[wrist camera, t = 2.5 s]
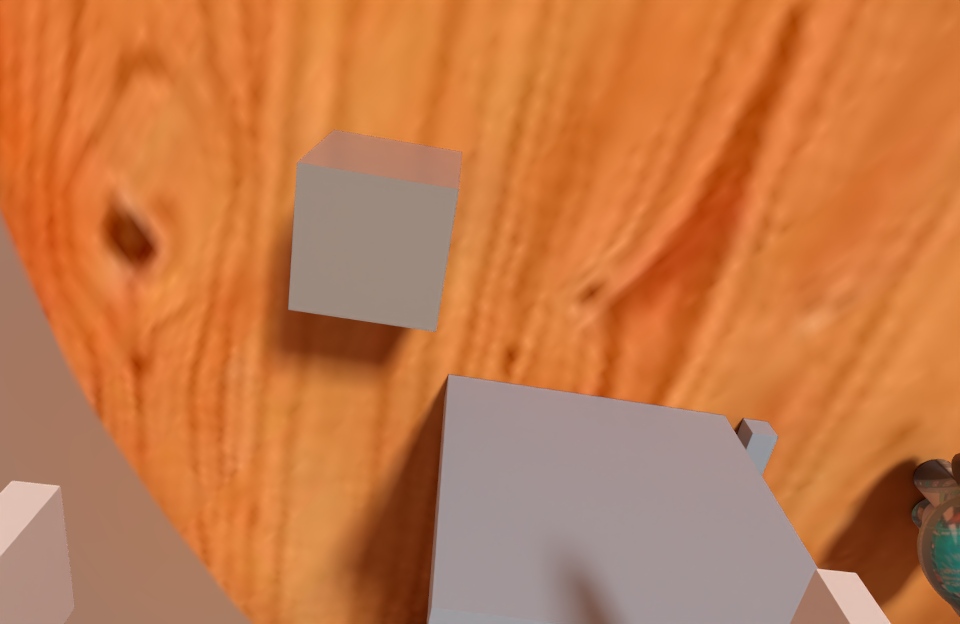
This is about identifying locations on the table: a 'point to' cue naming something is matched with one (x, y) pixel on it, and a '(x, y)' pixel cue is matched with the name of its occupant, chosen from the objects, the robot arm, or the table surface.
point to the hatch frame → (605, 514)
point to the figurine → (940, 526)
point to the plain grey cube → (373, 229)
